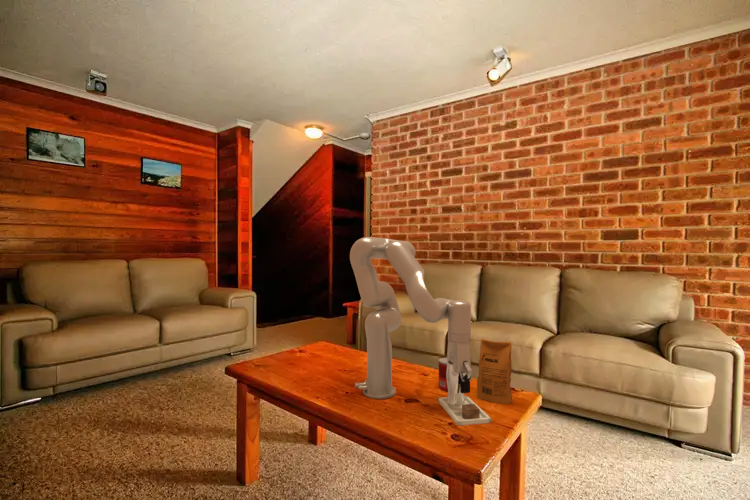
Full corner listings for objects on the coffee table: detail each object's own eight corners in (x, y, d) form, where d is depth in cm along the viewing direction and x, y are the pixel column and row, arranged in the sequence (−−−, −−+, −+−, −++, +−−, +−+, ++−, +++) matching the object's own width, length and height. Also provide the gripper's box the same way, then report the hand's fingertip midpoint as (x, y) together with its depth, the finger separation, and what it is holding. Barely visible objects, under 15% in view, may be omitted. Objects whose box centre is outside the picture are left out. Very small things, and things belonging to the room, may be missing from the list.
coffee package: (480, 392, 140) (480, 335, 140) (514, 399, 133) (514, 339, 133) (473, 401, 131) (473, 340, 131) (509, 409, 125) (509, 345, 125)
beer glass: (442, 400, 128) (444, 358, 127) (462, 400, 129) (463, 358, 128) (448, 410, 121) (450, 366, 120) (469, 409, 122) (470, 365, 121)
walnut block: (467, 423, 112) (467, 410, 112) (462, 417, 116) (462, 404, 116) (479, 421, 113) (479, 409, 113) (473, 416, 117) (473, 403, 117)
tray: (458, 429, 111) (458, 421, 111) (437, 404, 129) (437, 397, 129) (491, 426, 113) (491, 418, 113) (467, 402, 130) (467, 395, 130)
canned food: (459, 392, 139) (459, 364, 139) (438, 390, 141) (438, 362, 141) (458, 385, 147) (458, 358, 147) (438, 383, 149) (438, 356, 149)
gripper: (440, 331, 131) (439, 378, 131) (459, 344, 114) (458, 398, 114) (459, 330, 133) (459, 377, 133) (481, 343, 116) (481, 396, 116)
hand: (459, 387), depth 124 cm, fingers open, 9 cm apart
